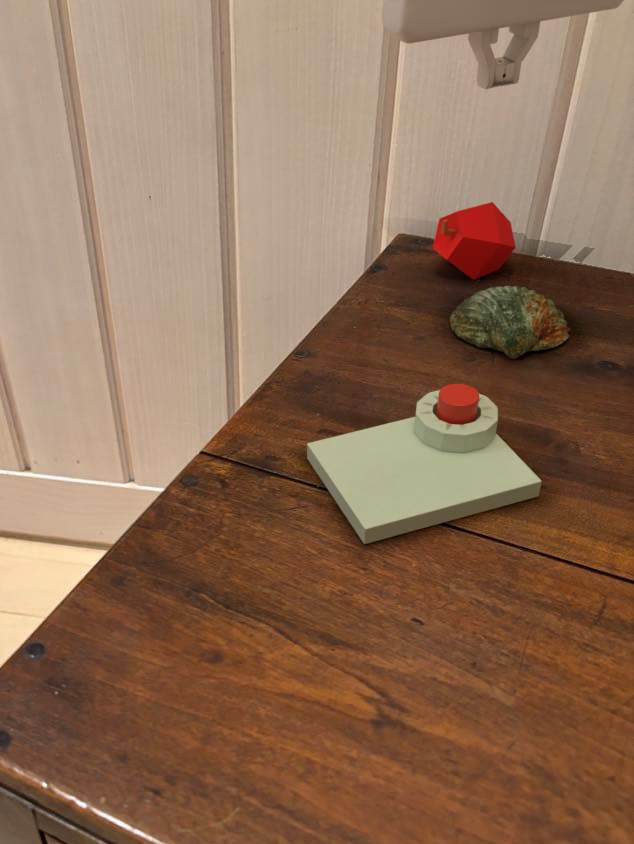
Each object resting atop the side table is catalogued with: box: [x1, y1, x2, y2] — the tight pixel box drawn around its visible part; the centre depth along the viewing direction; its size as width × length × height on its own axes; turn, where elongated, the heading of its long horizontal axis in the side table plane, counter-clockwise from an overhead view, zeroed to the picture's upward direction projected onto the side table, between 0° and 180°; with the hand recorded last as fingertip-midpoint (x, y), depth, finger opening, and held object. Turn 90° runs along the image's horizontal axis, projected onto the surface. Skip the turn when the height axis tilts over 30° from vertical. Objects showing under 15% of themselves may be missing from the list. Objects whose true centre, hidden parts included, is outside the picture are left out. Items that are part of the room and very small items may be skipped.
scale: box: [306, 389, 543, 545], centre depth 64 cm, size 13×10×3 cm
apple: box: [432, 201, 516, 281], centre depth 86 cm, size 7×7×8 cm
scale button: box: [436, 383, 480, 425], centre depth 65 cm, size 3×3×2 cm
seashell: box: [449, 285, 571, 360], centre depth 78 cm, size 10×4×10 cm
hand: (496, 84), depth 76 cm, fingers closed
